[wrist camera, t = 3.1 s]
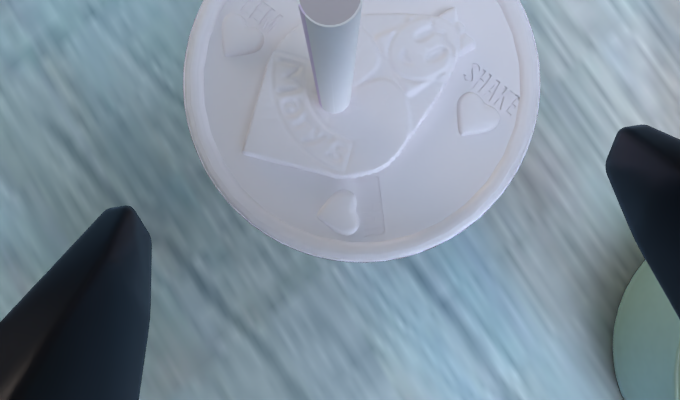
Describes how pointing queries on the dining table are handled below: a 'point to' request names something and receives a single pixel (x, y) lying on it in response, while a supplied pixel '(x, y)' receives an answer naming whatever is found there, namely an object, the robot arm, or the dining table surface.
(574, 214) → the dining table surface
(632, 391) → the jar
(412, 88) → the smoothie
